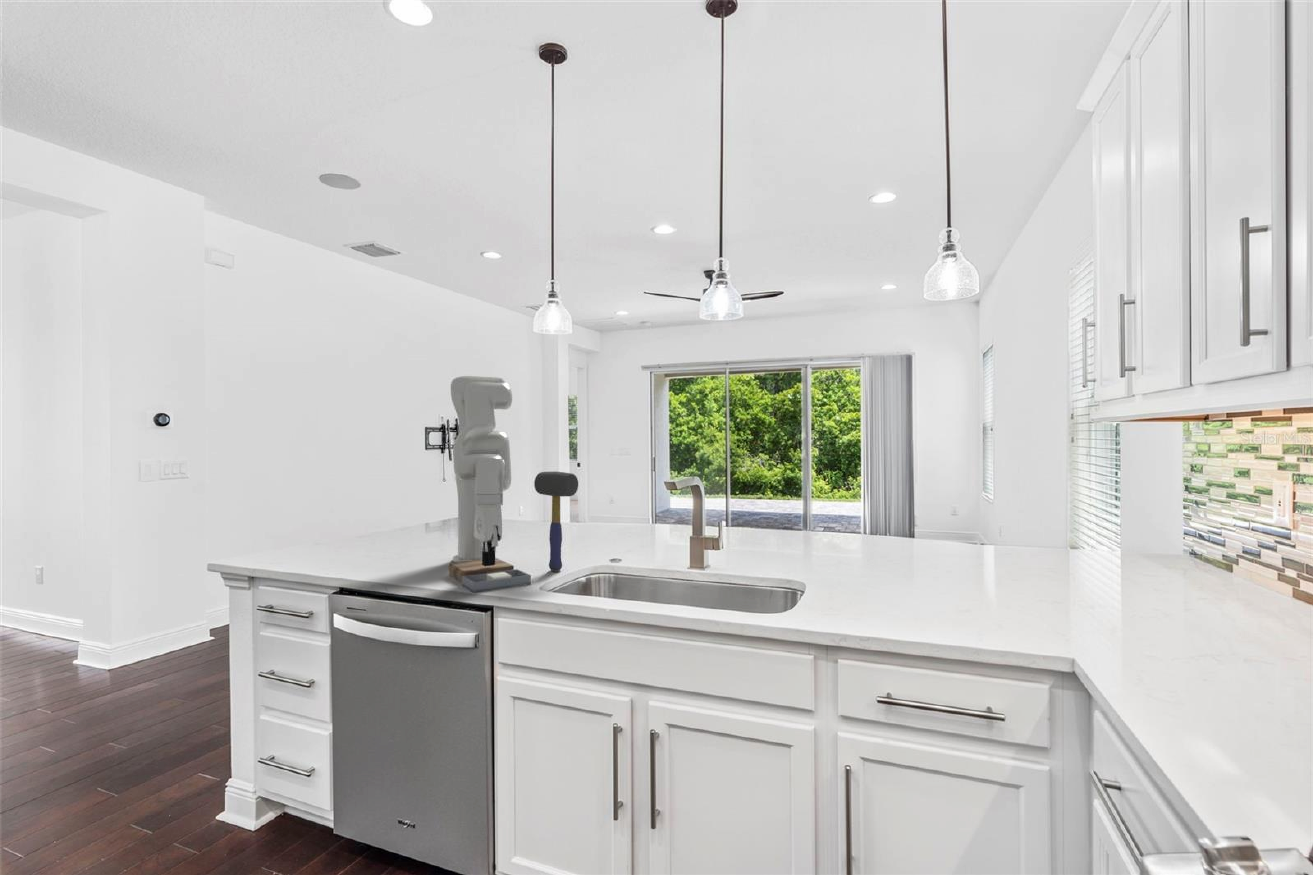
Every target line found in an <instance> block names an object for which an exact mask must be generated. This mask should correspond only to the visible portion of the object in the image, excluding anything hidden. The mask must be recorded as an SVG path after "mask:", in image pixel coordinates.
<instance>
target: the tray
mask: <svg viewBox="0 0 1313 875" xmlns="http://www.w3.org/2000/svg"><path fill="white" fill-rule="evenodd" d="M500 572H505V573H507V574H509V575H511V577H510V578H503V579H495V580H488V581H487V574H493V573H500ZM531 581H532V575H531V574H529V573H527V572H525V571H522V570H520V569H518V568H515V569H514V570H507V571H499V572H492V573H484V574H476V575H468V576H462V583H461V585H462V587H463V588H466V589H467V590H468V591H470V592H472V593H479V592H486V591H493V590H501V589H508V588H512V587H513V588H514V586H515V587H519V586H520V587H522V586H526V585H527V586H528V585H531V584H532V582H531Z"/></svg>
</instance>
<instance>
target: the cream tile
mask: <svg viewBox="0 0 1313 875" xmlns="http://www.w3.org/2000/svg"><path fill="white" fill-rule="evenodd" d="M510 577H511V575H509V574H507V573H505V572H500V573H493V574H487V581H488V580H495V579H503V578H510Z"/></svg>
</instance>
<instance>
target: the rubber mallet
mask: <svg viewBox="0 0 1313 875" xmlns="http://www.w3.org/2000/svg"><path fill="white" fill-rule="evenodd" d="M533 485H534V489H535V491H536V493H538V494H539V495H544V496H550V497H551V522H550V526H549V527H550V528H549V539H548V540H549V546H550V550H549V551H550V553H549V556H550V557H549V562H548V567H549V570H550V571H551V572H554V573H556V572H560V571H561V569H562V567H563V562H562V541H563V531H562V523H561V497H572V496H574V495H575V494H576V493H577V491H578V489H579V480H578V477H577V475H575V474H574V473H569V472H564V471H563V472H562V471H541V472H539V473H538V474H537V475H536V477H535V479H534V484H533Z"/></svg>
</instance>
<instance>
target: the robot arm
mask: <svg viewBox="0 0 1313 875" xmlns="http://www.w3.org/2000/svg"><path fill="white" fill-rule="evenodd" d="M450 396H451V401H452V405H453V408H454V410H455V413H456V415H457V418H458V435H457V436H456V438H455V440H454V442H453V443H454V444H453V447H452V457H453V458H452V460H453V470H454V475H455V484H456V490H457V491H456V492H457V503H458V504H457V514H458V515H457V517H458V518H457V522H458V523H457V555H454V556H453V557H452V562H453V563H455V562H464V561H473V560H481V559H482V565H483V566H492V565H495V558H496V550H497V547H499V542H500V541H501V540H502V538H503V515H502V513H503V512H502V506H503V504H504V492H506V491H507V490H509V488H510V487H511V485H512V465H511V449H510V448H511V447H510V440H509V437H508V435H507V433H505V432H503V431H501V430H495V429H496V416H495V410H508V409H510V407H511V406H512V403H513V393H512V389H511V387H510V385H509V383H508V382H507V381H506V380H505V379H504V378H502V377H495V376H493V377H491V376H476V375H475V376H474V375H464V376H463V375H461V376H458V377H455V378H453V379H452V381H451V383H450Z"/></svg>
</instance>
